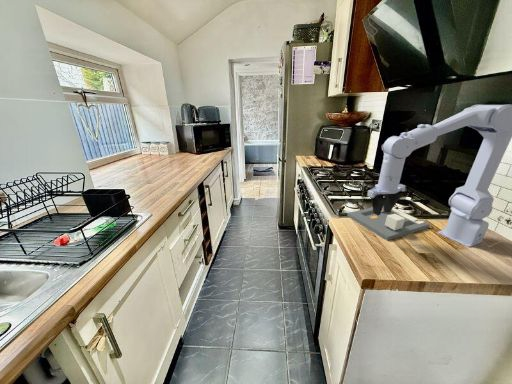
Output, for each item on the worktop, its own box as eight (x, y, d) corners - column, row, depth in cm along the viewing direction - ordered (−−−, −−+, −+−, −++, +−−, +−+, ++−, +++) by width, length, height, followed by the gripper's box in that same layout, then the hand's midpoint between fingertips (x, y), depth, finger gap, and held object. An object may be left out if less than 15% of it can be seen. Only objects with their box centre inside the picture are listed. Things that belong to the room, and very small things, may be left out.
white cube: (402, 228, 78) (405, 218, 76) (394, 230, 77) (397, 220, 75) (392, 222, 81) (394, 213, 80) (384, 225, 80) (386, 215, 79)
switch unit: (428, 227, 82) (430, 223, 81) (386, 240, 74) (388, 236, 74) (384, 207, 98) (385, 203, 97) (347, 216, 91) (347, 212, 90)
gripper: (394, 169, 74) (386, 204, 79) (363, 174, 69) (356, 211, 75) (415, 175, 68) (404, 212, 73) (381, 181, 63) (373, 221, 69)
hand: (381, 212), depth 74 cm, fingers open, 4 cm apart
